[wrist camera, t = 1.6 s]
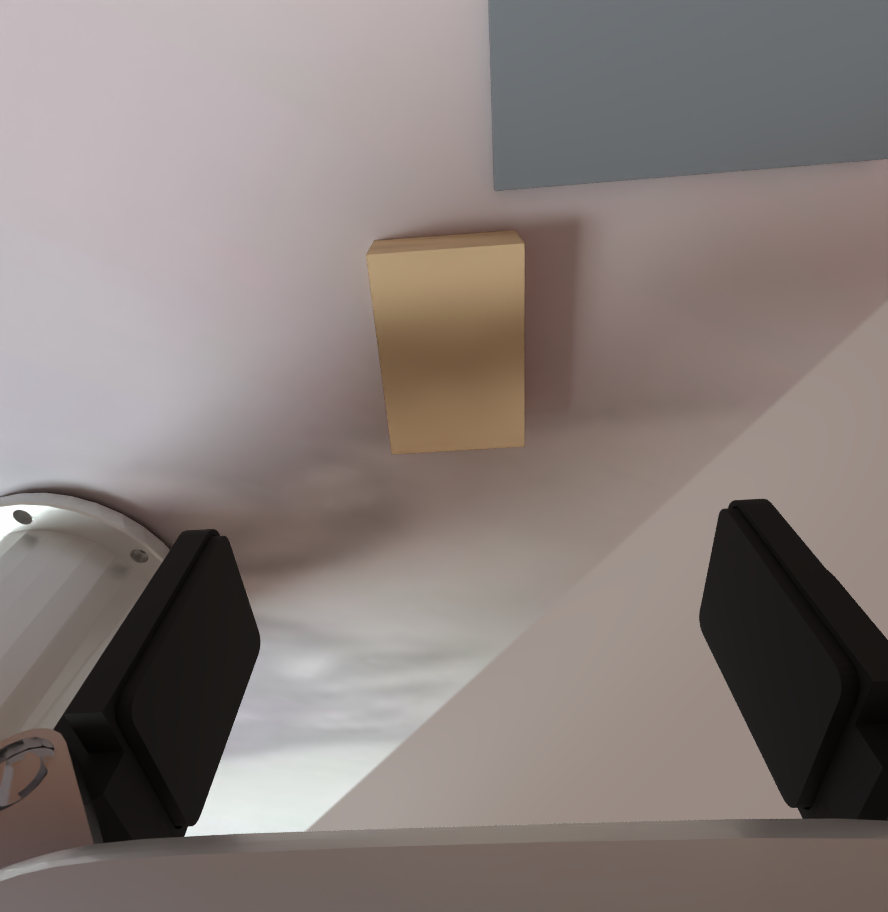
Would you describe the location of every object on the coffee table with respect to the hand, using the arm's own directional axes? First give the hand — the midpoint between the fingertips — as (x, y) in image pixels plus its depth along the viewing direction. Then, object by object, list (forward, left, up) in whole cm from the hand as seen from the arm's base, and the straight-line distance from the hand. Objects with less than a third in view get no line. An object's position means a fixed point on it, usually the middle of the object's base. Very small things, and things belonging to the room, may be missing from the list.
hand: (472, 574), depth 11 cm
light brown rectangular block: (0, 0, -16) cm, 16 cm away
